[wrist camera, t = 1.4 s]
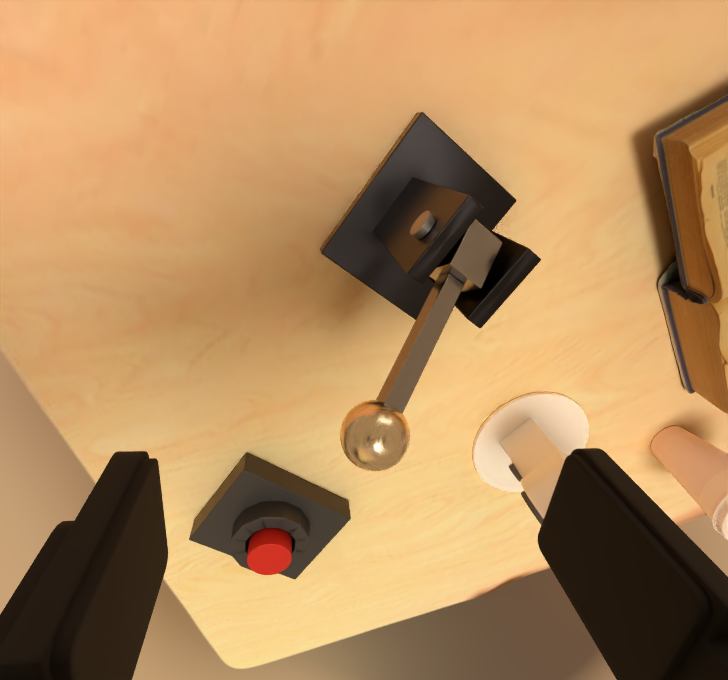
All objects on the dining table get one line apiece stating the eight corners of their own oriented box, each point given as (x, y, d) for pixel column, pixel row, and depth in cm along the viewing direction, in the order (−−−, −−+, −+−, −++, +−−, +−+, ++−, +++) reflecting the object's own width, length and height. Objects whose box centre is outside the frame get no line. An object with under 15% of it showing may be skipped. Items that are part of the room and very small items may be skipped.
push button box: (193, 520, 40) (183, 558, 36) (246, 452, 38) (241, 485, 34) (295, 560, 44) (295, 597, 40) (348, 500, 41) (353, 534, 38)
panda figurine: (444, 444, 40) (518, 598, 27) (543, 364, 38) (679, 488, 25) (514, 506, 45) (607, 665, 31) (606, 439, 43) (749, 577, 29)
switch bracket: (413, 315, 34) (465, 394, 24) (319, 249, 31) (330, 305, 21) (509, 198, 32) (617, 228, 21) (417, 112, 28) (488, 96, 18)
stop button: (240, 548, 37) (238, 566, 36) (263, 521, 36) (262, 538, 35) (277, 562, 39) (276, 580, 37) (300, 536, 38) (300, 553, 36)
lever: (371, 472, 22) (403, 491, 19) (318, 445, 21) (344, 460, 18) (474, 258, 25) (516, 246, 22) (433, 224, 24) (471, 207, 21)
